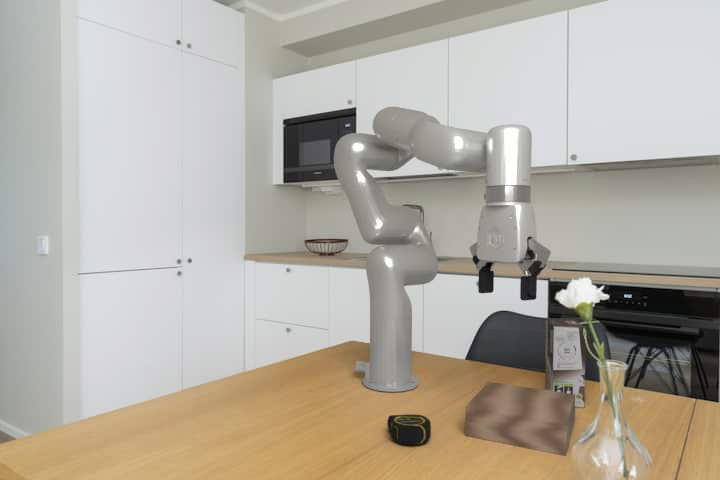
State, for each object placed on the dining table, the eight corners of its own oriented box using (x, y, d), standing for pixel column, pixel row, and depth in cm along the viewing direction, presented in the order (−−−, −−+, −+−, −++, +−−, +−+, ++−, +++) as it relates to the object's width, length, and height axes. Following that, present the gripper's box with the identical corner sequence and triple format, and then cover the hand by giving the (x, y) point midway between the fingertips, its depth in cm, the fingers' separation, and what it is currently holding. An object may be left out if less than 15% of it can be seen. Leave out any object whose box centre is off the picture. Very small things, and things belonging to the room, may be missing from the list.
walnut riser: (465, 435, 86) (465, 406, 86) (487, 406, 100) (488, 381, 100) (565, 455, 79) (566, 424, 78) (574, 421, 93) (575, 394, 93)
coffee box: (585, 408, 100) (587, 327, 99) (551, 405, 101) (552, 325, 101) (575, 393, 109) (576, 319, 108) (544, 391, 110) (545, 317, 110)
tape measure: (425, 432, 88) (426, 410, 88) (434, 449, 81) (435, 426, 81) (387, 433, 87) (387, 411, 87) (392, 450, 81) (393, 427, 80)
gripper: (457, 199, 93) (456, 291, 93) (533, 194, 78) (531, 304, 79) (487, 200, 97) (485, 289, 97) (564, 196, 82) (562, 301, 82)
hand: (506, 296), depth 88 cm, fingers open, 9 cm apart
